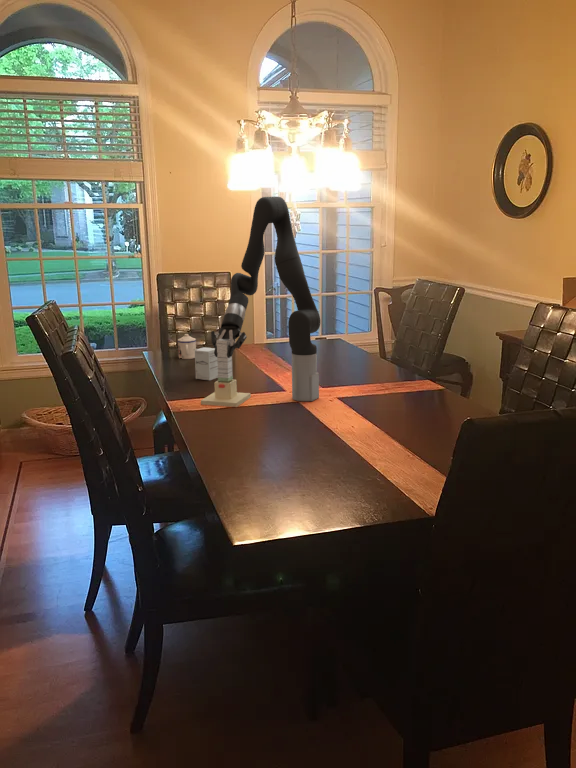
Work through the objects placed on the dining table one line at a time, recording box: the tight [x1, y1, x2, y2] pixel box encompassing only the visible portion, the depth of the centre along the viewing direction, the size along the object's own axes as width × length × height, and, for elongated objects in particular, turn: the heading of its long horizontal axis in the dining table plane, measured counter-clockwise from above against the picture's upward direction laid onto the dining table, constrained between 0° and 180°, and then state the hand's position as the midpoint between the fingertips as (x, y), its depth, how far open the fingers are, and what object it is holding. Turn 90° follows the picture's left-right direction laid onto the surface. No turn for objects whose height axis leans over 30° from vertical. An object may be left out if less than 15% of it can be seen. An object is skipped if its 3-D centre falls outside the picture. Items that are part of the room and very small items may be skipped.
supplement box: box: [194, 347, 218, 381], centre depth 275 cm, size 7×7×13 cm
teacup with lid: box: [177, 333, 197, 360], centre depth 317 cm, size 12×9×12 cm
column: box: [217, 339, 234, 381], centre depth 237 cm, size 4×4×15 cm
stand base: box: [200, 378, 252, 408], centre depth 240 cm, size 14×14×8 cm
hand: (222, 356), depth 235 cm, fingers closed on column, 4 cm apart
